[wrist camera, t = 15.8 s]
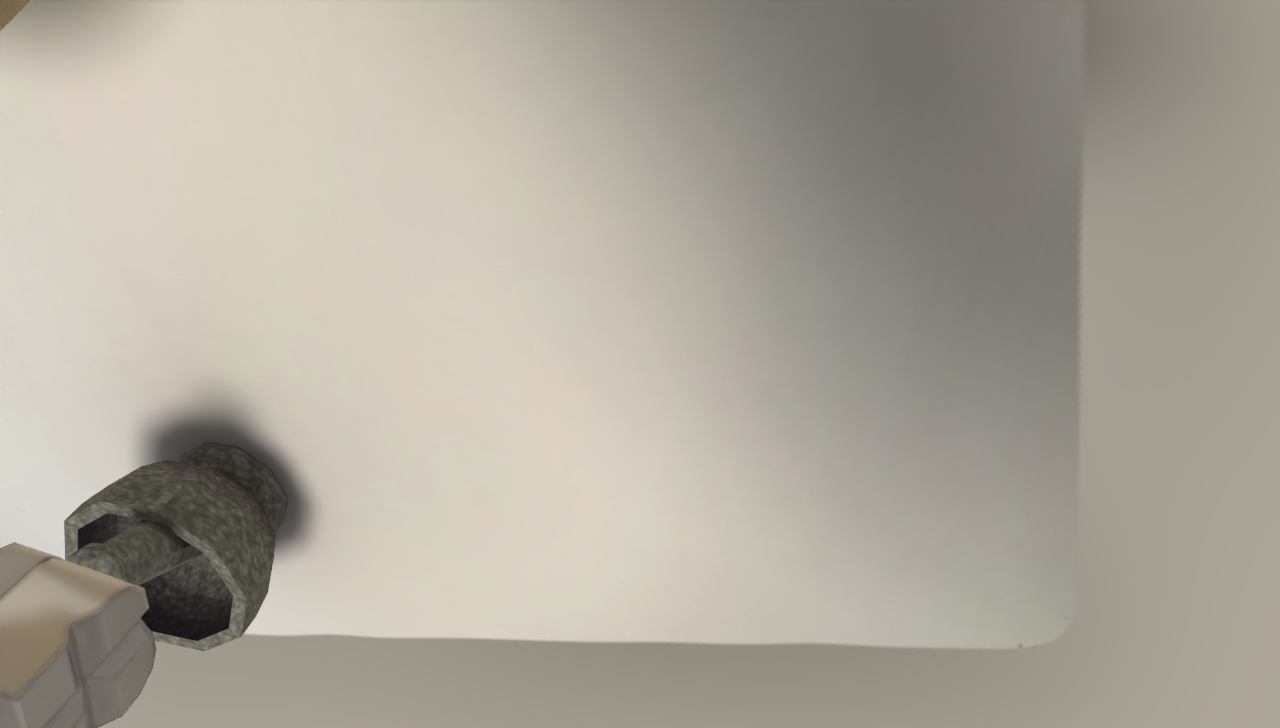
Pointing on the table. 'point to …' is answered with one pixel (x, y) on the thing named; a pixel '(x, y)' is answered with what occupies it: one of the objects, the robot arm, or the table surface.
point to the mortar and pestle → (187, 541)
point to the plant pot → (10, 10)
